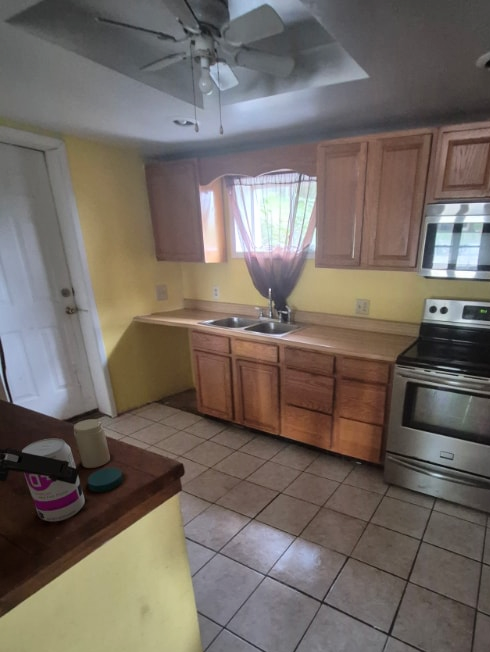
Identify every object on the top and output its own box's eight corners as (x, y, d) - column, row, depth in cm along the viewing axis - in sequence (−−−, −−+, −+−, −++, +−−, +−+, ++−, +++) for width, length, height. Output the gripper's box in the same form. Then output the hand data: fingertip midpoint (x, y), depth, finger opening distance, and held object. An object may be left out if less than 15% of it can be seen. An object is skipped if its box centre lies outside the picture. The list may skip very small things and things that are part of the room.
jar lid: (106, 494, 81) (105, 488, 81) (81, 488, 83) (79, 482, 83) (129, 476, 87) (128, 470, 87) (105, 471, 89) (103, 465, 89)
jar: (76, 466, 91) (65, 429, 87) (92, 453, 97) (84, 417, 93) (100, 469, 90) (90, 431, 86) (115, 455, 96) (107, 419, 92)
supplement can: (71, 523, 73) (52, 458, 67) (30, 523, 73) (6, 458, 67) (93, 497, 80) (77, 437, 74) (55, 497, 80) (36, 436, 74)
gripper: (-167, 471, 49) (-30, 493, 69) (12, 478, 48) (99, 498, 68) (-140, 418, 52) (-16, 453, 72) (30, 423, 51) (109, 458, 71)
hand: (40, 475), depth 70 cm, fingers open, 13 cm apart
